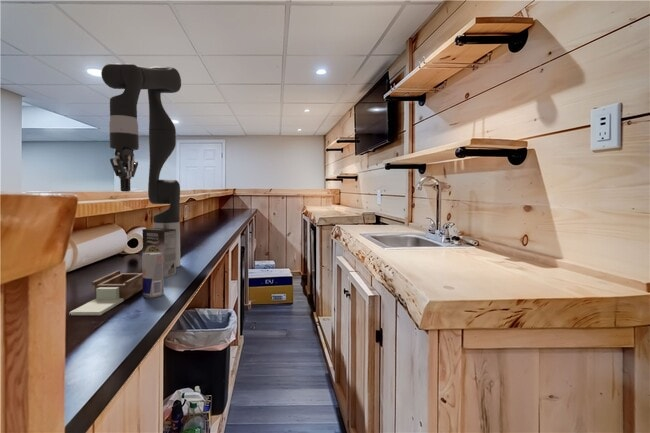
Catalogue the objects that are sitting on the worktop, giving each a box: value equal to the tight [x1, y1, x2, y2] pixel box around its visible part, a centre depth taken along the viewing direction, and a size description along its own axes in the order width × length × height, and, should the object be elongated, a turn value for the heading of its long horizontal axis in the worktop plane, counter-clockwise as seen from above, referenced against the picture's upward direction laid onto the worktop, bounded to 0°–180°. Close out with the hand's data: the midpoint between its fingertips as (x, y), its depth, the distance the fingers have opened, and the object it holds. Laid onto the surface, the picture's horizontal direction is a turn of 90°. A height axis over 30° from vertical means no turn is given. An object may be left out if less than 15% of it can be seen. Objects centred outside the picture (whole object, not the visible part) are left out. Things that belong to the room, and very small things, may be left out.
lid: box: [68, 287, 125, 316], centre depth 91 cm, size 11×7×4 cm, turn 3°
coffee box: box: [142, 227, 177, 278], centre depth 126 cm, size 9×6×16 cm
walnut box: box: [91, 269, 143, 301], centre depth 104 cm, size 14×9×5 cm, turn 4°
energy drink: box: [141, 252, 165, 299], centre depth 102 cm, size 5×5×12 cm
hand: (125, 191), depth 109 cm, fingers closed
